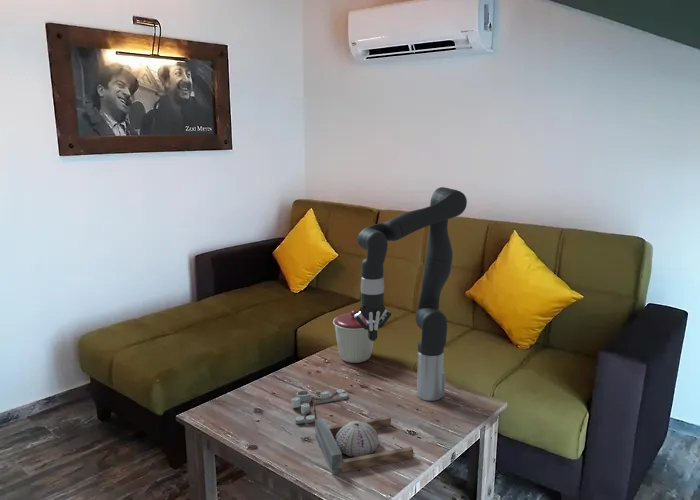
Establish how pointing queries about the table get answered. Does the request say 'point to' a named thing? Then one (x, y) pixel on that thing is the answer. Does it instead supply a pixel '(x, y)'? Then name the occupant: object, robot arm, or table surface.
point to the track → (338, 465)
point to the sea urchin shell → (357, 439)
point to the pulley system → (305, 398)
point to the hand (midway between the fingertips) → (372, 340)
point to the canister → (352, 338)
